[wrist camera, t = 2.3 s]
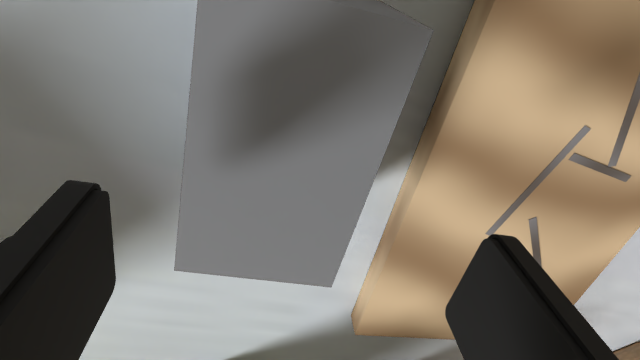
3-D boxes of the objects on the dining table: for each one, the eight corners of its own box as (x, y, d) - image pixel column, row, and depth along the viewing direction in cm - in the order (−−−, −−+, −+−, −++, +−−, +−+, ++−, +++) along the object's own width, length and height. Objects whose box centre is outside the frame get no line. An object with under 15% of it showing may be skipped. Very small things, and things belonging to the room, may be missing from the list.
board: (558, -214, 12) (593, -233, 11) (858, -94, 15) (915, -98, 13) (350, 315, 25) (355, 335, 24) (529, 325, 28) (541, 344, 26)
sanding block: (228, -44, 14) (200, -37, 9) (380, 1, 15) (434, 30, 10) (201, 181, 19) (174, 270, 14) (317, 200, 20) (331, 287, 15)
